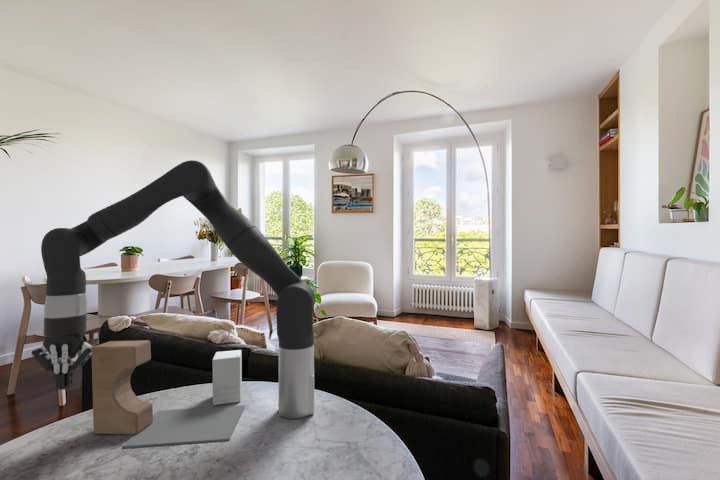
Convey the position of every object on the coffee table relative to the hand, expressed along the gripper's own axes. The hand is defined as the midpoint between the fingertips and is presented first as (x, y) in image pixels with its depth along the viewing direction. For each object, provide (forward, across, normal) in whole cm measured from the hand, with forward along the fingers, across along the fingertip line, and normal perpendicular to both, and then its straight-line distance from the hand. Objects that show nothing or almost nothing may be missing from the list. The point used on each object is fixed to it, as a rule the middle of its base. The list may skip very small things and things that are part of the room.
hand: (64, 388), depth 78 cm
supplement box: (+10, -33, -14) cm, 37 cm away
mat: (+10, -28, 0) cm, 30 cm away
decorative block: (+10, -13, 0) cm, 17 cm away
